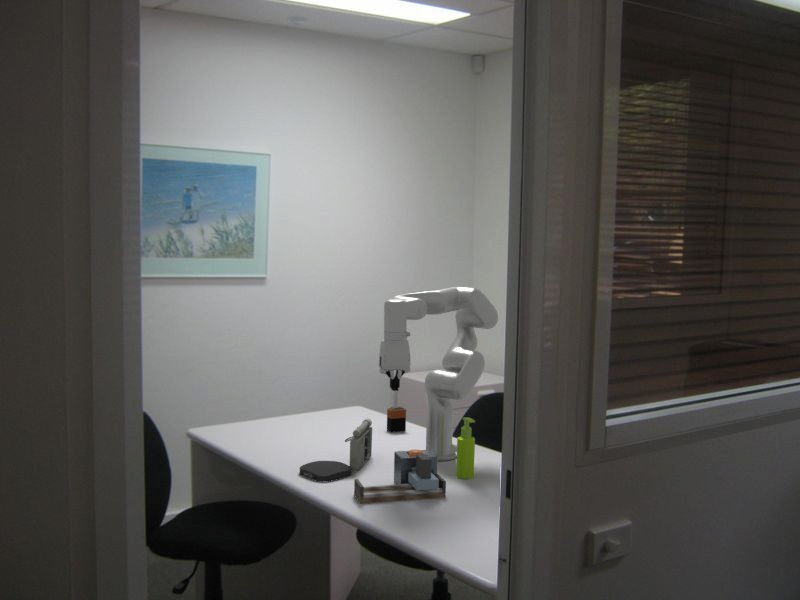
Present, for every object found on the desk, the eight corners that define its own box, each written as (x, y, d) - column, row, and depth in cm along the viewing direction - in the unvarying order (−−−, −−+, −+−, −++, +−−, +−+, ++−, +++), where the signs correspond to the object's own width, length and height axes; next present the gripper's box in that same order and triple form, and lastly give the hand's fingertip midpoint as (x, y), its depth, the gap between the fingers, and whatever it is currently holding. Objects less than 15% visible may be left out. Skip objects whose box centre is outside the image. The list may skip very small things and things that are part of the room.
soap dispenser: (463, 480, 265) (465, 421, 263) (452, 475, 271) (454, 416, 269) (478, 478, 268) (480, 419, 266) (467, 472, 274) (469, 415, 272)
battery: (405, 431, 328) (406, 407, 327) (390, 432, 325) (391, 408, 324) (401, 428, 332) (401, 404, 331) (386, 430, 329) (386, 406, 328)
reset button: (419, 461, 262) (420, 449, 262) (424, 465, 258) (424, 452, 258) (407, 462, 261) (407, 449, 261) (411, 466, 257) (411, 453, 256)
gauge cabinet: (428, 479, 266) (429, 449, 265) (437, 487, 257) (437, 456, 257) (393, 481, 262) (394, 451, 261) (401, 489, 254) (401, 458, 253)
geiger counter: (361, 431, 271) (378, 415, 295) (343, 430, 272) (361, 413, 296) (360, 472, 272) (377, 452, 296) (342, 470, 273) (360, 451, 298)
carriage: (429, 480, 255) (430, 452, 255) (438, 489, 247) (439, 460, 246) (408, 481, 253) (408, 453, 253) (416, 490, 245) (417, 461, 244)
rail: (437, 488, 256) (437, 473, 255) (445, 497, 248) (445, 481, 248) (354, 494, 248) (354, 479, 248) (360, 503, 241) (360, 487, 240)
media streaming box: (356, 475, 269) (356, 466, 269) (322, 484, 259) (322, 475, 259) (328, 465, 279) (329, 457, 279) (294, 473, 269) (294, 465, 269)
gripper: (412, 333, 276) (411, 386, 278) (370, 335, 271) (370, 389, 273) (419, 337, 269) (419, 391, 271) (377, 338, 264) (376, 393, 266)
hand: (394, 389), depth 272 cm, fingers closed
